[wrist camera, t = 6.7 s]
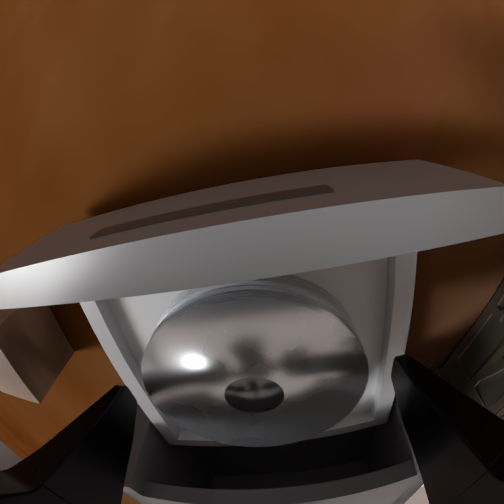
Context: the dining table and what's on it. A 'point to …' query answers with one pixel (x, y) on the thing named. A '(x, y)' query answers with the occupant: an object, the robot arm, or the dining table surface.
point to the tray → (262, 259)
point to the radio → (481, 358)
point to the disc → (255, 362)
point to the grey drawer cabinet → (276, 469)
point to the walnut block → (31, 351)
